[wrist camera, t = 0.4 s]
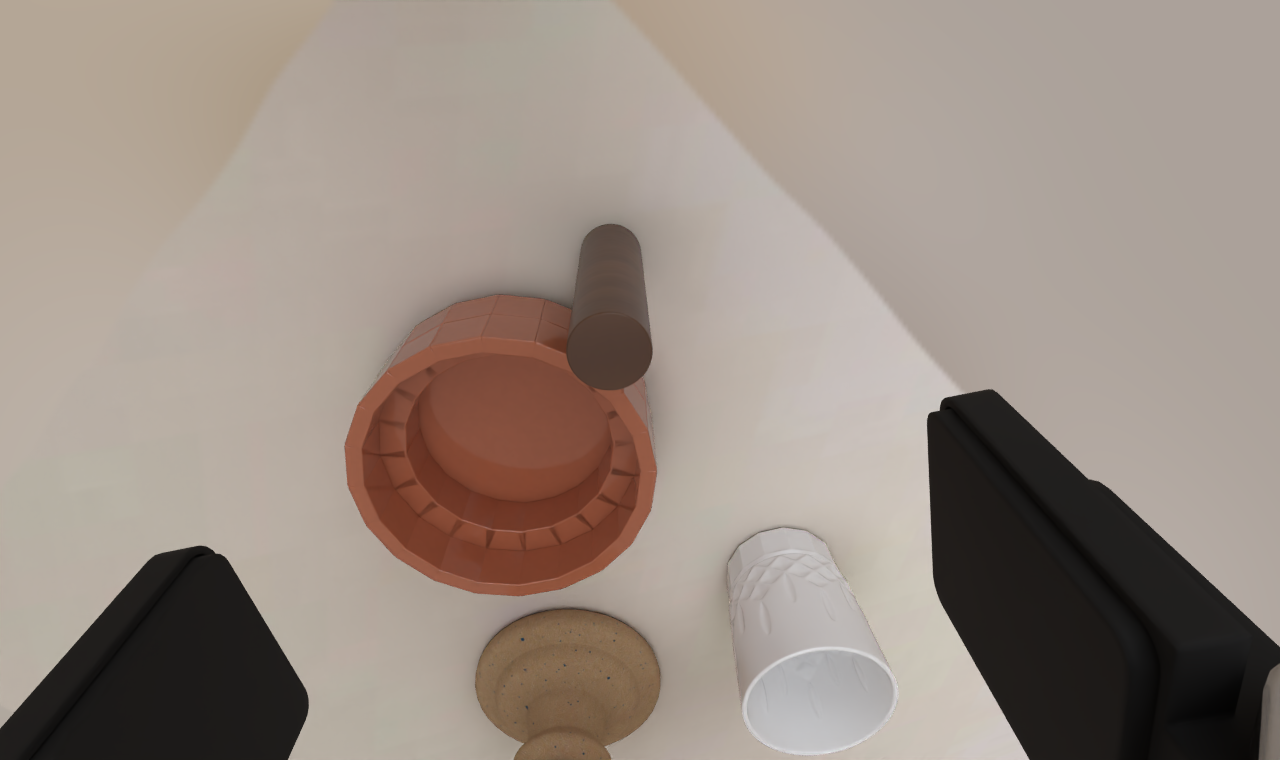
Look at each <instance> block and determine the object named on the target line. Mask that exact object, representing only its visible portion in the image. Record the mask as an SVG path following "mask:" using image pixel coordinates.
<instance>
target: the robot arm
mask: <svg viewBox="0 0 1280 760" xmlns="http://www.w3.org/2000/svg"><path fill="white" fill-rule="evenodd" d="M927 434H928V460H929V485H930V510H931V535H932V560H933V578H934V584H935V588H936V591H937V594H938V597H939V600H940V602H941V604H942V606H943V608H944V609H945V611H946V613H947V615H948V616H949V618H950V620H951V622H952V624H953V625H954V627H955V629H956V631H957V632H958V634H959V636H960V638H961V639H962V641H963V643H964V645H965V646H966V648H967V650H968V652H969V654H970V655H971V657H972V659H973V661H974V662H975V664H976V666H977V668H978V669H979V671H980V673H981V675H982V676H983V678H984V680H985V682H986V684H987V685H988V687H989V689H990V691H991V692H992V694H993V696H994V698H995V699H996V701H997V703H998V705H999V707H1000V708H1001V710H1002V712H1003V714H1004V715H1005V717H1006V719H1007V721H1008V722H1009V724H1010V726H1011V728H1012V729H1013V731H1014V733H1015V735H1016V737H1017V738H1018V740H1019V742H1020V744H1021V745H1022V747H1023V749H1024V751H1025V752H1026V754H1027V756H1028V758H1029V759H1030V760H1280V647H1279V646H1278V645H1277V644H1276V643H1275V642H1274V641H1272V640H1271V639H1270V638H1269V637H1268V636H1267V635H1266V634H1265V633H1264V632H1263V631H1262V630H1261V629H1260V628H1258V627H1257V626H1256V625H1255V624H1254V623H1253V622H1252V621H1251V620H1250V619H1249V618H1248V617H1247V616H1246V615H1245V614H1244V613H1242V612H1241V611H1240V610H1239V609H1238V608H1237V607H1236V606H1235V605H1234V604H1233V603H1232V602H1231V601H1230V600H1228V599H1227V598H1226V597H1225V596H1224V595H1223V594H1222V593H1221V592H1220V591H1219V590H1218V589H1217V588H1216V587H1215V586H1213V585H1212V584H1211V583H1210V582H1209V581H1208V580H1207V579H1206V578H1205V577H1204V576H1203V575H1202V574H1201V573H1199V572H1198V571H1197V570H1196V569H1195V568H1194V567H1193V566H1192V565H1191V564H1190V563H1189V562H1188V561H1187V560H1185V559H1184V558H1183V557H1182V556H1181V555H1180V554H1179V553H1178V552H1177V551H1176V550H1175V549H1174V548H1173V547H1172V546H1170V545H1169V544H1168V543H1167V542H1166V541H1165V540H1164V539H1163V538H1162V537H1161V536H1160V535H1159V534H1158V533H1156V532H1155V531H1154V530H1153V529H1152V528H1151V527H1150V526H1149V525H1148V524H1147V523H1146V522H1144V521H1143V520H1142V519H1141V518H1140V517H1139V516H1138V515H1137V514H1136V513H1135V512H1134V511H1132V510H1131V508H1129V507H1128V506H1127V505H1126V504H1125V503H1124V502H1123V501H1122V500H1121V499H1120V498H1119V497H1118V496H1117V495H1116V494H1114V493H1113V492H1112V491H1111V490H1110V489H1109V488H1107V487H1106V486H1105V485H1103V484H1102V483H1100V482H1098V481H1094V480H1088V479H1087V478H1086V477H1085V476H1084V475H1083V474H1082V473H1081V472H1080V471H1079V470H1078V469H1077V468H1076V467H1075V466H1074V465H1073V464H1072V463H1071V462H1069V461H1068V460H1067V459H1066V458H1065V457H1064V456H1063V455H1062V454H1061V453H1060V452H1059V451H1058V450H1057V449H1056V448H1055V447H1054V446H1053V445H1052V444H1050V442H1048V441H1047V440H1046V439H1045V438H1044V437H1043V436H1042V435H1041V434H1040V433H1039V432H1038V431H1037V430H1036V429H1035V428H1034V427H1033V426H1032V425H1031V424H1030V423H1029V422H1028V421H1027V420H1025V419H1024V418H1023V417H1022V416H1021V415H1020V414H1019V413H1018V412H1017V411H1016V410H1015V409H1014V408H1013V407H1012V406H1011V405H1010V404H1009V403H1008V402H1007V401H1005V400H1004V399H1003V398H1002V397H1001V396H1000V395H999V394H998V393H997V392H995V391H994V390H989V389H988V390H983V391H978V392H972V393H967V394H962V395H957V396H952V397H947V398H944V399H943V400H942V402H941V405H940V411H936V412H931V413H930V414H929V415H928V418H927ZM308 708H309V700H308V695H307V692H306V689H305V687H304V686H303V684H302V682H301V681H300V679H299V677H298V676H297V674H296V672H295V671H294V669H293V667H292V666H291V664H290V662H289V661H288V659H287V657H286V656H285V654H284V652H283V651H282V649H281V648H280V646H279V644H278V643H277V641H276V639H275V638H274V636H273V634H272V633H271V631H270V629H269V628H268V626H267V624H266V623H265V621H264V619H263V618H262V616H261V614H260V613H259V611H258V609H257V608H256V606H255V604H254V603H253V601H252V599H251V598H250V596H249V594H248V593H247V591H246V589H245V588H244V586H243V585H242V583H241V581H240V580H239V578H238V576H237V575H236V573H235V571H234V570H233V568H232V566H231V565H230V563H229V561H228V560H227V559H226V558H225V557H224V556H222V555H221V554H215V552H214V551H213V550H211V549H210V548H208V547H206V546H195V547H190V548H185V549H180V550H175V551H170V552H165V553H161V554H158V555H155V556H153V557H152V558H151V559H150V560H149V561H148V562H147V563H146V564H145V565H144V566H143V567H142V568H141V570H140V571H139V572H138V573H137V574H136V575H135V576H134V577H133V579H132V580H131V581H130V582H129V583H128V584H127V585H126V587H125V588H124V589H123V590H122V591H121V592H120V593H119V594H118V596H117V597H116V598H115V599H114V600H113V601H112V602H111V604H110V605H109V606H108V607H107V608H106V609H105V610H104V612H103V613H102V614H101V615H100V616H99V617H98V618H97V619H96V621H95V622H94V623H93V624H92V625H91V626H90V627H89V629H88V630H87V631H86V632H85V633H84V634H83V635H82V636H81V638H80V639H79V640H78V641H77V642H76V643H75V644H74V646H73V647H72V648H71V649H70V650H69V651H68V652H67V653H66V655H65V656H64V657H63V658H62V659H61V660H60V661H59V663H58V664H57V665H56V666H55V667H54V668H53V669H52V671H51V672H50V673H49V674H48V675H47V676H46V677H45V678H44V680H43V681H42V682H41V683H40V684H39V685H38V686H37V688H36V689H35V690H34V691H33V692H32V693H31V694H30V695H29V697H28V698H27V699H26V700H25V701H24V702H23V703H22V705H21V706H20V707H19V708H18V709H17V710H16V711H15V712H14V714H13V715H12V716H11V717H10V718H9V719H8V720H7V722H6V723H5V724H4V725H3V726H2V727H1V728H0V760H288V758H289V756H290V754H291V751H292V749H293V747H294V745H295V742H296V740H297V738H298V736H299V734H300V731H301V729H302V727H303V725H304V722H305V720H306V717H307V714H308Z"/></svg>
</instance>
